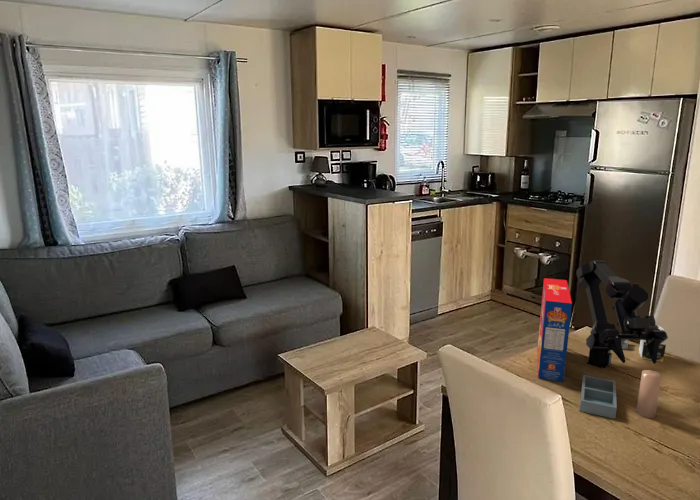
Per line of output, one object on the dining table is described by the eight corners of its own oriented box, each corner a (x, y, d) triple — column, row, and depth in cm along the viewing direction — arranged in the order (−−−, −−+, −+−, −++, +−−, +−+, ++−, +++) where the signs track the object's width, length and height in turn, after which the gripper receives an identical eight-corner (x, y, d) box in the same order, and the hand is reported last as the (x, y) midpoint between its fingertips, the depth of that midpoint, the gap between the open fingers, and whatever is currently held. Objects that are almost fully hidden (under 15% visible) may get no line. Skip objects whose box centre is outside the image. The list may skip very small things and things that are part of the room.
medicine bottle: (641, 358, 188) (645, 328, 186) (638, 351, 195) (642, 322, 192) (663, 362, 186) (668, 331, 183) (660, 354, 192) (664, 324, 189)
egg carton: (628, 344, 202) (629, 334, 201) (627, 351, 196) (629, 341, 195) (598, 338, 207) (599, 329, 206) (597, 345, 201) (598, 335, 200)
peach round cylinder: (634, 413, 152) (639, 373, 149) (638, 407, 155) (644, 368, 152) (652, 420, 148) (659, 379, 145) (657, 413, 152) (663, 373, 149)
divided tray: (581, 384, 169) (583, 374, 168) (614, 390, 165) (615, 381, 164) (579, 410, 153) (580, 400, 152) (615, 418, 149) (616, 408, 148)
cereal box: (537, 346, 199) (544, 278, 193) (559, 349, 196) (566, 280, 190) (538, 378, 173) (545, 300, 167) (563, 382, 171) (572, 303, 164)
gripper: (607, 304, 158) (619, 352, 149) (669, 306, 157) (684, 354, 148) (593, 319, 167) (604, 365, 159) (652, 321, 166) (665, 367, 158)
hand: (639, 362), depth 156 cm, fingers open, 9 cm apart
